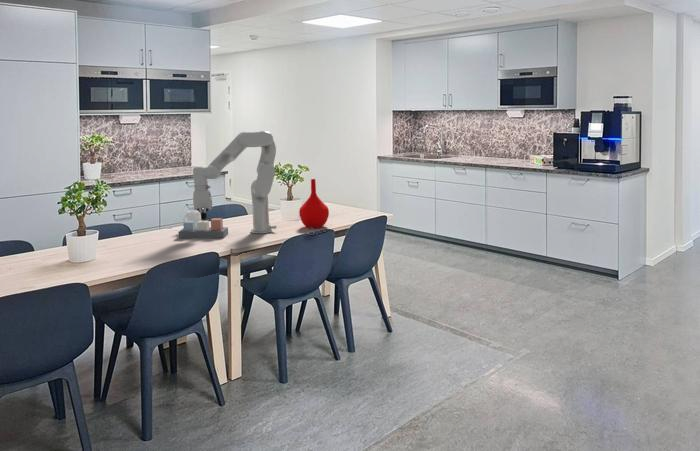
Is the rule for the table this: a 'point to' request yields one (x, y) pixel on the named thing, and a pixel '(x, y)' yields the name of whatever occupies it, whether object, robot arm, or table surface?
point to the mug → (193, 216)
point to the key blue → (189, 225)
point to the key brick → (216, 224)
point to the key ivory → (202, 225)
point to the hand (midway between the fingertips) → (204, 219)
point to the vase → (314, 210)
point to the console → (203, 233)
